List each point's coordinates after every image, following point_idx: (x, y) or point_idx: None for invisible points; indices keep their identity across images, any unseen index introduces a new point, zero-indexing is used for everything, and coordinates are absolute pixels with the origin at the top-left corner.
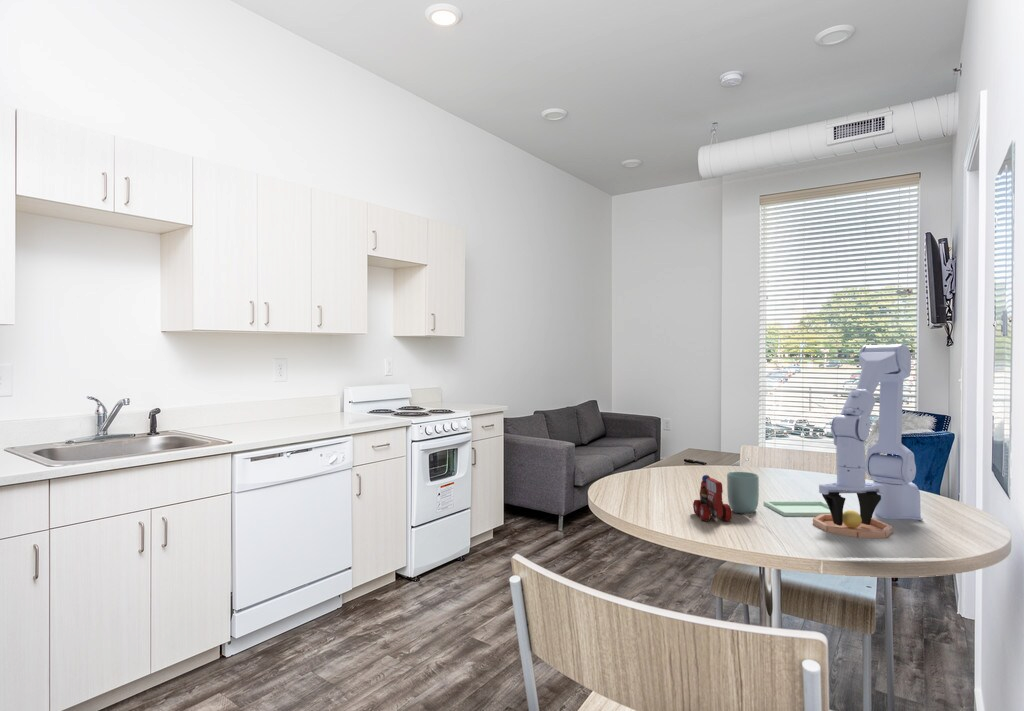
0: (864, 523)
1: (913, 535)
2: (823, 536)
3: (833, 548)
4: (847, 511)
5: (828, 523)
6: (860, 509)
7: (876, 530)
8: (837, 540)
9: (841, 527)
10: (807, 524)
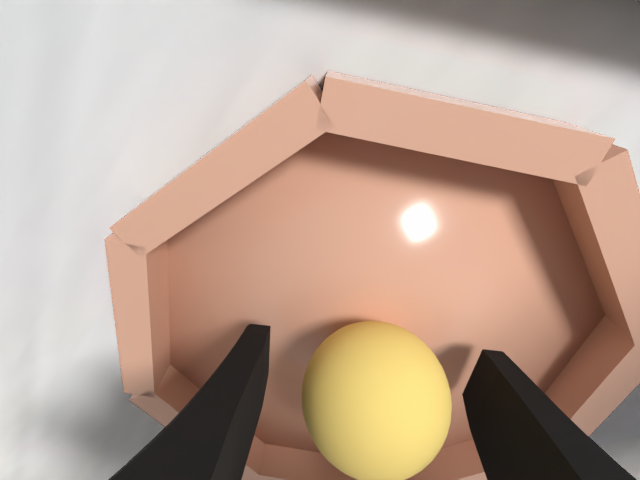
0: (471, 377)
1: (618, 447)
2: (110, 375)
3: (78, 477)
4: (343, 453)
5: (274, 230)
6: (547, 442)
7: None
8: (152, 425)
9: (299, 326)
10: (124, 140)
